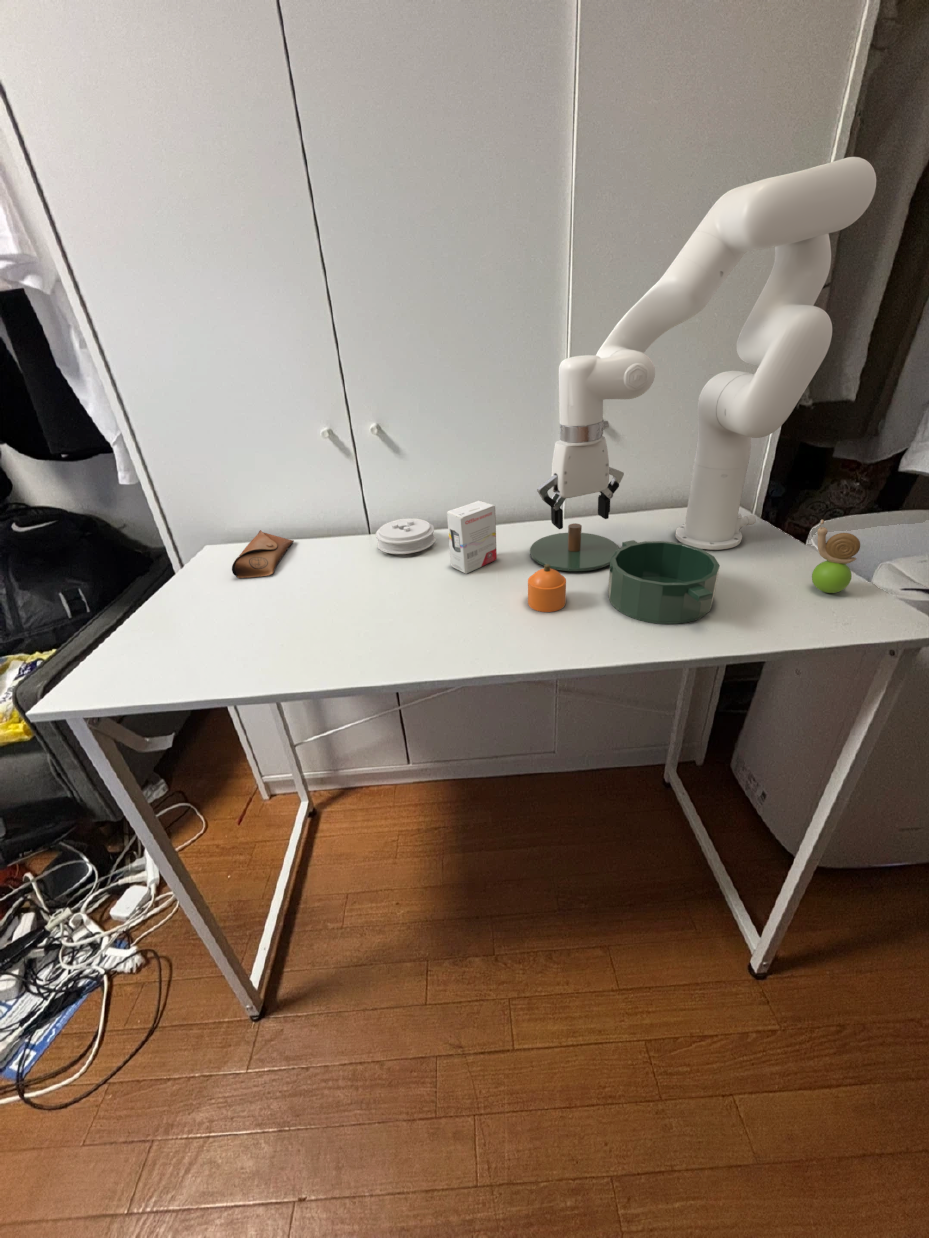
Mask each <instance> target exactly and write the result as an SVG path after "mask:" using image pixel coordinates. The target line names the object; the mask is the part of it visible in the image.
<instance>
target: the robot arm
mask: <svg viewBox="0 0 929 1238" xmlns="http://www.w3.org/2000/svg"><path fill="white" fill-rule="evenodd" d="M876 188H877V174H876V172H875V169H874V167H873V165H872V164H871V163H870V162H869V161H868V160H866V159H864V158H862V157H860V156H847V157H845V158H840V159H837V160H834V161H831V162H827V163H823V164H821V165H816V166H813V167H809V168H805V169H802V170H797V171H793V172H790V173H786V174H785V173H784V174H781V175H777V176H776V175H775V176H772V177H767V178H763V179H760V180H757V181H753V182H749V183H747V184H743V185H740V186H737V187H735V188H732V189H730V190H728V191H726V192H725V193H724V194H723V195H721V196H719V198H718V199H717V200H716V201H715V203H714V204H713V205H712V206H711V208H710V209H709V210H708V211H707V213H706V214H705V216H704V217H703V219H702V220H701V221H700V223H699V224H698V226H697V227H696V228H695V230H694V231H693V232H692V234H691V235H690V237H689V238H688V240H687V241H686V242H685V244H684V246H683V247H682V248H681V250H680V251H679V252H678V254H677V255H676V257H675V259H673V261H672V262H671V264H670V265H669V266H668V268H667V269H666V270H665V272H664V273H663V274H662V276H661V277H660V278H659V280H658V281H657V282H656V283H654V284H653V286H651V287H650V288H649V289H648V290H647V291H646V292H645V293H644V294H643V296H641V298H639V299H638V301H636V302H635V303H634V304H633V305H632V307H630V309H628V311H627V312H625V314H624V315H623V316H622V317H621V318H620V320H619V321H618V322H617V323H616V325H615V326H614V327H613V329H612V330H611V331H610V333H609V335H607V337H606V338H605V340H604V341H603V343H602V344H601V346H600V348H599V349H598V350H597V352H596V354H593V355H592V354H583V355H582V354H581V355H574V356H571V357H567V358H565V359H563V360H562V361H560V363H559V366H558V406H559V407H558V409H559V412H558V413H559V440H557V441H555V443H554V448H553V454H552V461H551V475H550V477H549V478H548V479H547V480H545V482H543V483H542V484H540V485H538V487H537V488H536V492H537V493H538V495H539V496H540V498H541V500H542V502H544V503H545V504H547V505H548V506H549V507H550V521H551V524H552V525H553V526H554V527H556V529H558V530H563V528H564V511H563V508H561V507H562V505H563V504H564V502H565V501H566V500H567V499H571V498H572V499H573V498H577V497H582V496H586V495H592V494H596V493H599V495H598V496H597V515H598V516H599V517H601V518H602V519H604V520H608V519H610V512H611V499H613V497H614V494H615V493H616V491H617V490H618V489H619V488H620V483H621V482H622V480H623V477H624V475H625V472H624V471H621V470H620V469H617V468H614V467H611V466H610V461H609V451H608V446H607V445H608V444H607V441H606V437H605V436H604V431H605V430H606V429H609V427H610V423H609V421H608V420H605V419H604V401H605V400H633V399H636V398H639V397H641V396H642V395H644V394H645V393H646V392H648V391H649V389H650V388H651V387H652V386H653V383H654V381H655V377H656V367H655V364H654V362H653V360H652V359H651V358H650V357H649V356H648V355H647V354H646V353H645V352H646V351H647V350H648V349H649V347H651V345H653V343H655V341H657V340H658V339H659V338H660V337H661V336H662V335H664V334H665V333H666V332H668V331H669V330H671V329H673V328H674V327H677V326H679V325H680V324H683V323H684V322H687V321H688V320H690V319H691V318H693V317H695V316H696V315H698V314H699V313H700V312H702V311H703V309H704V308H705V307H706V306H707V305H708V303H709V302H710V301H711V299H712V298H713V297H714V295H715V294H716V292H717V291H718V290H719V288H720V287H721V285H722V284H723V283H724V282H725V280H726V279H727V278H728V276H729V275H730V274H731V272H732V271H733V270H734V269H735V267H736V266H737V265H738V263H739V262H740V261H741V260H742V258H743V257H744V256H745V254H746V253H747V252H753V251H755V252H756V251H762V250H768V249H773V248H774V250H775V251H774V253H775V254H774V260H773V261H774V262H773V265H772V269H771V271H770V273H769V276H768V278H767V280H766V283H765V284H764V286H763V288H762V290H761V292H760V293H759V296H758V298H757V299H756V301H755V303H754V305H753V307H752V309H751V311H750V312H749V315H748V316H747V318H746V320H745V322H744V324H743V326H742V327H741V330H740V332H739V335H738V338H737V339H736V344H735V349H736V354H737V356H738V358H739V359H740V360H741V361H743V362H744V363H746V364H748V365H751V366H754V367H757V369H756V371H755V372H754V373H752V372H747V371H744V370H743V371H742V370H726V371H723V372H719V373H717V374H715V375H713V376H712V377H711V378H710V379H709V380H708V381H707V382H706V383H705V384H704V386H703V388H702V389H701V391H700V392H699V393H700V394H699V396H698V399H697V407H696V408H697V411H696V412H697V415H696V416H697V418H696V419H697V437H696V438H697V439H696V446H695V447H696V448H695V454H694V461H693V467H692V474H691V480H690V486H689V492H688V500H687V506H686V507H687V508H686V513H685V521H684V523H683V524H681V525H679V526H678V527H676V529H675V533H674V534H675V535H674V536H675V539H677V541H679V543H682V544H686V545H690V546H693V547H696V548H700V549H702V550H709V551H710V550H711V551H713V550H714V551H718V550H719V551H720V550H721V551H722V550H729V549H732V548H735V547H737V546H739V545H740V544H741V542H742V539H743V534H742V532H741V531H740V529H742V528H743V527H744V526H745V527H747V526H752V525H755V524H756V522H757V517H756V515H754V514H752V515H745V516H742V514H741V513H740V506H741V501H742V496H743V491H744V487H745V481H746V477H747V473H748V466H749V463H750V458H751V451H752V438H753V439H760V438H765V437H767V436H770V435H772V434H773V433H775V432H776V431H777V430H778V429H780V428H781V427H782V426H783V424H784V423H785V422H786V421H787V420H788V419H789V417H790V415H791V414H792V412H793V411H794V409H795V407H796V406H797V404H798V402H799V401H800V399H801V398H802V396H803V395H804V393H805V391H806V389H807V388H808V386H809V384H810V383H811V381H812V380H813V378H814V376H815V375H816V372H817V371H818V370H819V368H820V366H821V365H822V363H823V361H824V359H825V358H826V355H827V354H828V352H829V348H830V345H831V341H832V336H833V324H832V320H831V318H830V315H829V314H828V313H827V312H826V311H825V310H824V309H823V308H821V307H819V306H816V305H815V304H816V302H817V300H818V297H819V295H820V293H821V292H822V289H823V288H824V286H825V284H826V282H827V279H828V277H829V273H830V270H831V264H832V248H831V239H830V234H832V233H835V232H836V233H837V232H839V231H842V230H844V229H846V228H847V227H850V226H851V225H852V224H854V223H855V222H856V221H858V219H859V218H861V217H862V216H863V215H864V213H865V212H866V211H867V209H868V208H869V207H870V204H871V202H872V201H873V198H874V196H875V193H876ZM610 476H612V479H611V481H610ZM549 490H551V491H552V493H553V494H552V496H550V495H549Z"/></svg>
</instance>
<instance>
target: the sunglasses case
mask: <svg viewBox="0 0 929 1238" xmlns="http://www.w3.org/2000/svg"><path fill="white" fill-rule="evenodd" d="M294 542H295V540H294V539H290V538H285V537H281V536H277V535H274V534H271V533H267V532H264V531H262V530H261V529H259V531H258V533H257V534H256V535H255V536H254V537H253V539H251V541H250V542H249V543H248V544H247V545H246V546H245V548H244V549H243V550H242V551H241V552H240V554H239V555H238V557H236V559H235V560H234V562H233V563H232V565H231V572H232V575H233V576H234V577H236V578H237V579H256V578H263V577H269V576H272V575H274V573H275V571H276V568H277V566H278V565H279V563H280V562H281V560H282V559H283V557H284V556H285V555H286V553H288V550H289V549H290V548H291V546H292V545H293V543H294Z"/></svg>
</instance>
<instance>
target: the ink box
mask: <svg viewBox="0 0 929 1238" xmlns="http://www.w3.org/2000/svg"><path fill="white" fill-rule="evenodd" d="M496 518H497V517H496V506H495V505H494V504H492V503H488V502H485V501H482V500H476V501H474V502H471V503H468V504H465V505H462V506H459V507H455V508H452V509H450V510H447V511H446V519H447V532H448V542H449V543H448V544H449V555H450V567H451V568H453V569H455V570H457V571H459V572H461V573H463V574H465V575H467V574H469V573H471V572H474V571H475V570H477V569H480V568H482V567H485V566H486V565H488V564H490V563H492V562H495V561H497V560H498V559H497V557H498V553H497V552H498V551H497V523H496V521H497V520H496Z"/></svg>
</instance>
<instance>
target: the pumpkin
mask: <svg viewBox="0 0 929 1238" xmlns="http://www.w3.org/2000/svg"><path fill="white" fill-rule="evenodd" d="M566 594H567V578H566V577H565V576H564V575H562V574H561V573H560V572H559V570H557V569H552V568H550V565H549V564H545V565H544V566H543V568H540V569H538V570H536V571H535V572H534V573H533V574H532V575H530V576H529V577H528V579H527V605H528V606H529V608H531V609H532V610H534V611H537V612H540V613H552V612H554V613H555V612H557V611H559V610H562V609H563V608H564V607H565V605H566V597H567V595H566Z"/></svg>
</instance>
